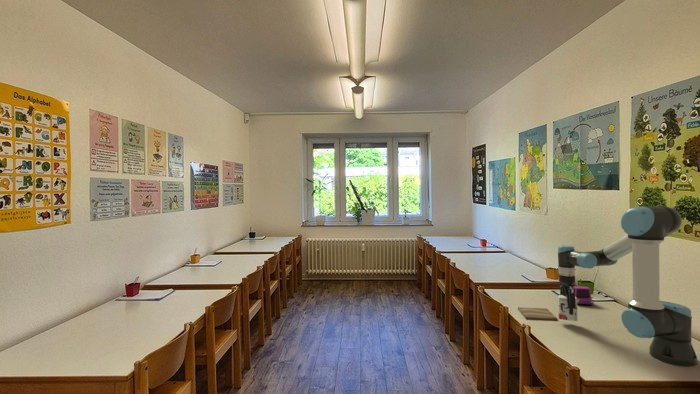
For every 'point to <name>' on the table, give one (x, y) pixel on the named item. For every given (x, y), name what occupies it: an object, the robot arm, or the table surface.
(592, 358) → the table surface
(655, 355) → the robot arm
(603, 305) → the table surface
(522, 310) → the walnut board
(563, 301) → the ink box
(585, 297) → the toy truck
